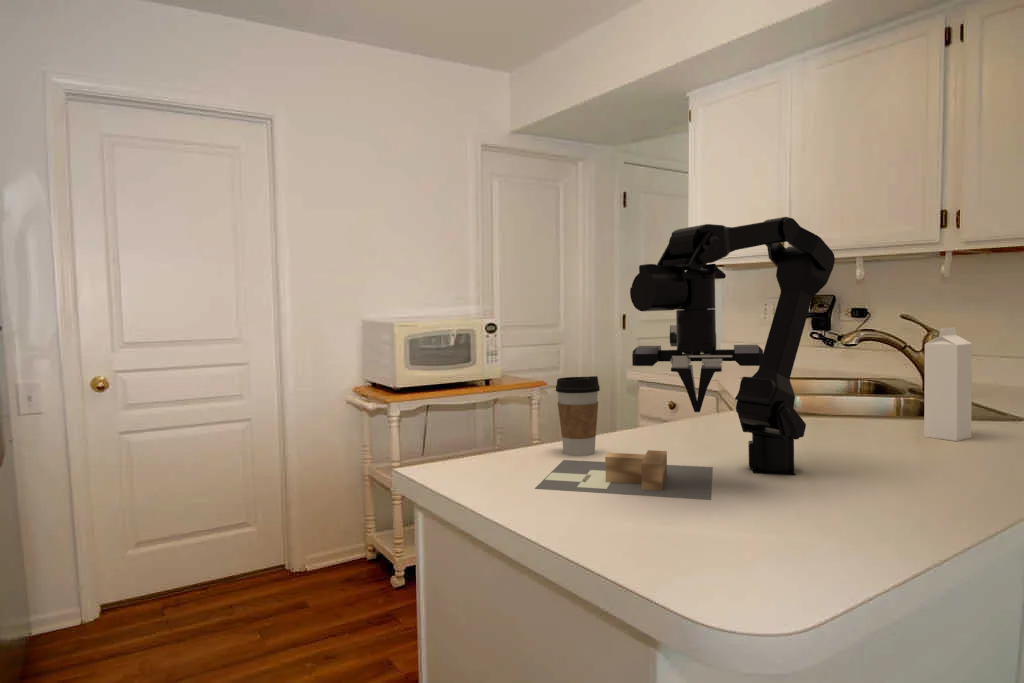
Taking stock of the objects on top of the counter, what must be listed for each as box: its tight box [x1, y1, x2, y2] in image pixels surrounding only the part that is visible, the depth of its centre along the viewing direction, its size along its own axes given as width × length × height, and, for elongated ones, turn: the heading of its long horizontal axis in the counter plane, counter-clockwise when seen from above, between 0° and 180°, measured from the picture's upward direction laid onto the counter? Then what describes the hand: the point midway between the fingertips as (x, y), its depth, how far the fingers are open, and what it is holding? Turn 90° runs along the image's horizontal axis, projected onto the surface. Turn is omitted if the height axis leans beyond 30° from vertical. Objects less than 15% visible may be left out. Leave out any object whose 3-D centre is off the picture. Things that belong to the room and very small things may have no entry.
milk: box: [923, 326, 973, 442], centre depth 128 cm, size 6×6×22 cm
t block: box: [604, 449, 668, 491], centre depth 101 cm, size 9×9×4 cm
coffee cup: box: [555, 375, 601, 457], centre depth 122 cm, size 8×8×15 cm
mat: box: [534, 459, 714, 501], centre depth 104 cm, size 26×19×1 cm
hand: (697, 411), depth 98 cm, fingers closed
